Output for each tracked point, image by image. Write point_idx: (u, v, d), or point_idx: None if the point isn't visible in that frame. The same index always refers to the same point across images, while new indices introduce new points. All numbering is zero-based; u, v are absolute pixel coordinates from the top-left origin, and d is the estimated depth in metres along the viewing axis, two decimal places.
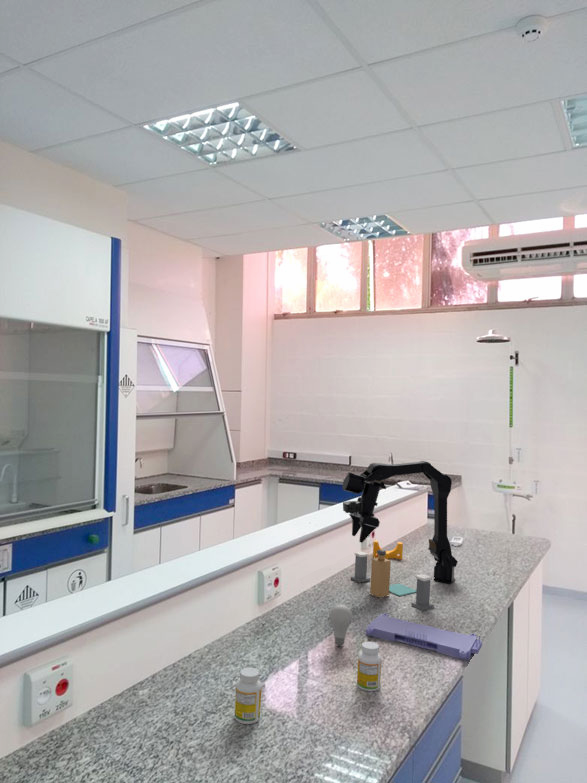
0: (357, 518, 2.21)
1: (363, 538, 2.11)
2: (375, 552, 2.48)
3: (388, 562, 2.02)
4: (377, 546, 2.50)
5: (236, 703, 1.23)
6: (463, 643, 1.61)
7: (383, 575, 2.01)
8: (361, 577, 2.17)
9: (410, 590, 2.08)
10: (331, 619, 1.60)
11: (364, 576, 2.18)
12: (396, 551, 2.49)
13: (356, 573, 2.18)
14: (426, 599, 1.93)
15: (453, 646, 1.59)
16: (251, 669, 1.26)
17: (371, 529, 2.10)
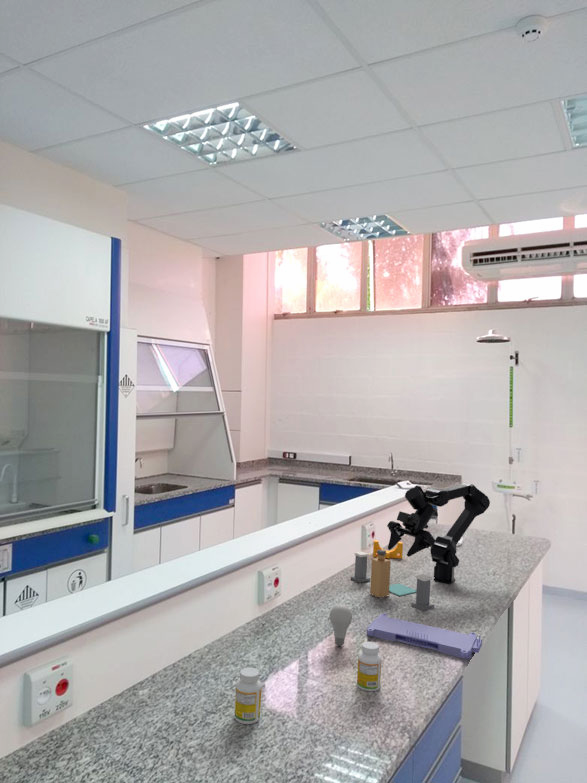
0: (397, 534, 2.15)
1: (412, 553, 2.05)
2: (375, 552, 2.49)
3: (388, 562, 2.02)
4: (377, 546, 2.50)
5: (236, 703, 1.23)
6: (464, 642, 1.62)
7: (383, 575, 2.01)
8: (361, 577, 2.17)
9: (410, 590, 2.08)
10: (331, 619, 1.60)
11: (364, 576, 2.18)
12: (396, 551, 2.50)
13: (356, 573, 2.18)
14: (426, 599, 1.93)
15: (454, 645, 1.59)
16: (251, 669, 1.26)
17: (422, 547, 2.06)
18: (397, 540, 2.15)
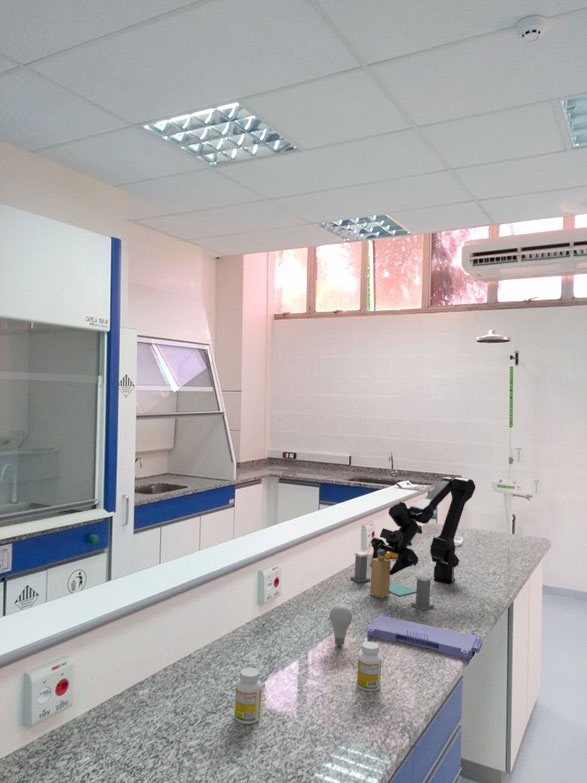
0: None
1: (394, 571, 2.00)
2: None
3: (388, 562, 2.02)
4: None
5: (236, 703, 1.23)
6: (464, 642, 1.62)
7: (383, 575, 2.01)
8: (361, 577, 2.17)
9: (410, 590, 2.08)
10: (331, 619, 1.60)
11: (364, 576, 2.18)
12: None
13: (356, 573, 2.18)
14: (426, 599, 1.93)
15: (455, 645, 1.60)
16: (251, 669, 1.26)
17: (405, 565, 2.01)
18: None
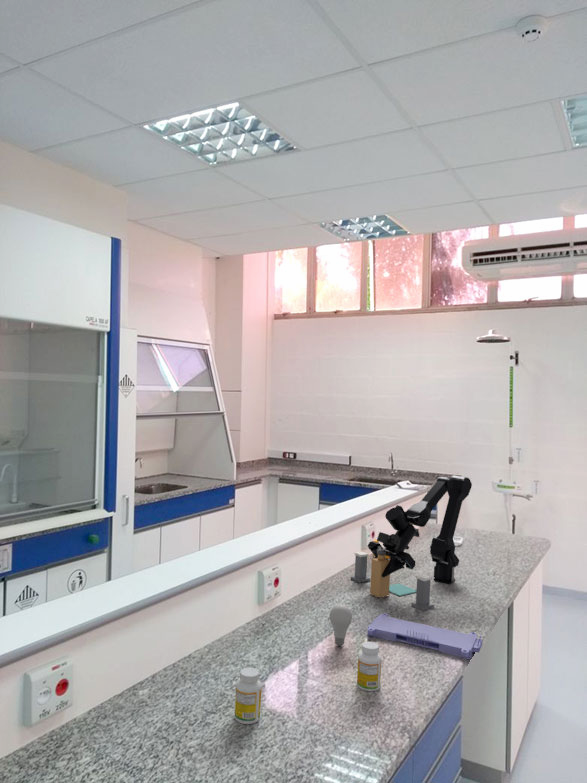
0: None
1: (387, 573, 2.01)
2: None
3: (388, 562, 2.02)
4: None
5: (236, 703, 1.23)
6: (465, 642, 1.62)
7: None
8: (361, 577, 2.17)
9: (410, 590, 2.08)
10: (331, 619, 1.60)
11: (364, 576, 2.18)
12: None
13: (356, 573, 2.18)
14: (426, 599, 1.93)
15: (455, 645, 1.60)
16: (251, 669, 1.26)
17: (398, 567, 2.02)
18: None
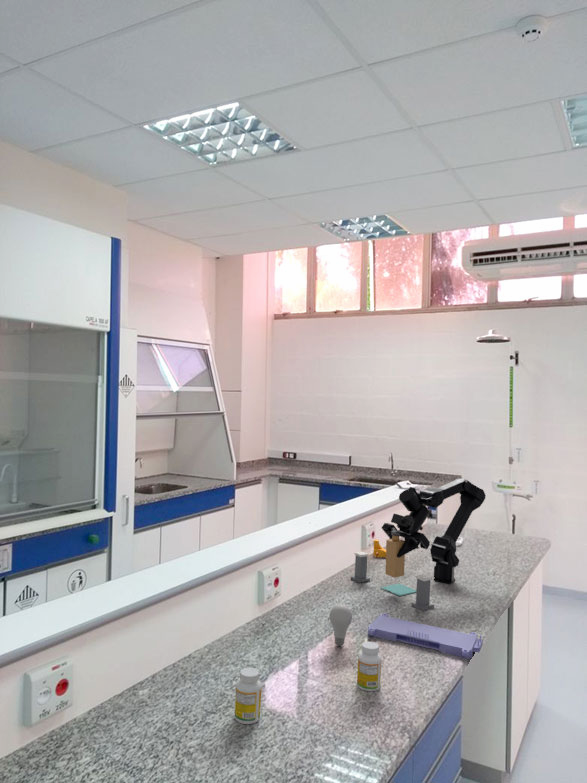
0: None
1: (402, 554, 2.05)
2: (375, 551, 2.50)
3: (403, 542, 2.06)
4: (377, 545, 2.52)
5: (236, 703, 1.23)
6: (465, 642, 1.62)
7: None
8: (361, 577, 2.17)
9: (410, 590, 2.08)
10: (331, 619, 1.60)
11: (364, 576, 2.18)
12: None
13: (356, 573, 2.18)
14: (426, 599, 1.93)
15: (455, 645, 1.60)
16: (251, 669, 1.26)
17: (412, 548, 2.06)
18: None
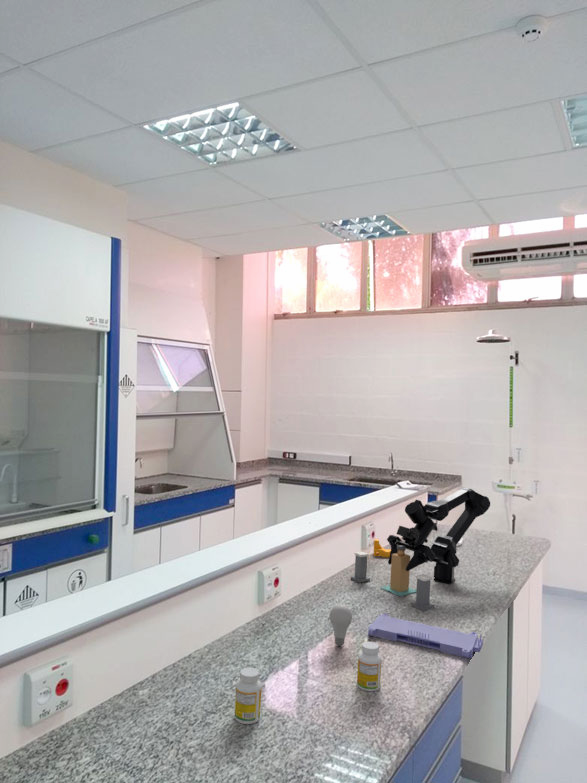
0: None
1: (410, 567, 2.05)
2: (376, 550, 2.51)
3: (408, 557, 2.08)
4: (378, 544, 2.52)
5: (236, 703, 1.23)
6: (465, 641, 1.62)
7: (403, 569, 2.07)
8: (361, 577, 2.17)
9: (410, 590, 2.08)
10: (331, 619, 1.60)
11: (364, 576, 2.18)
12: None
13: (356, 573, 2.18)
14: (426, 599, 1.93)
15: (456, 645, 1.60)
16: (251, 669, 1.26)
17: (421, 561, 2.06)
18: None
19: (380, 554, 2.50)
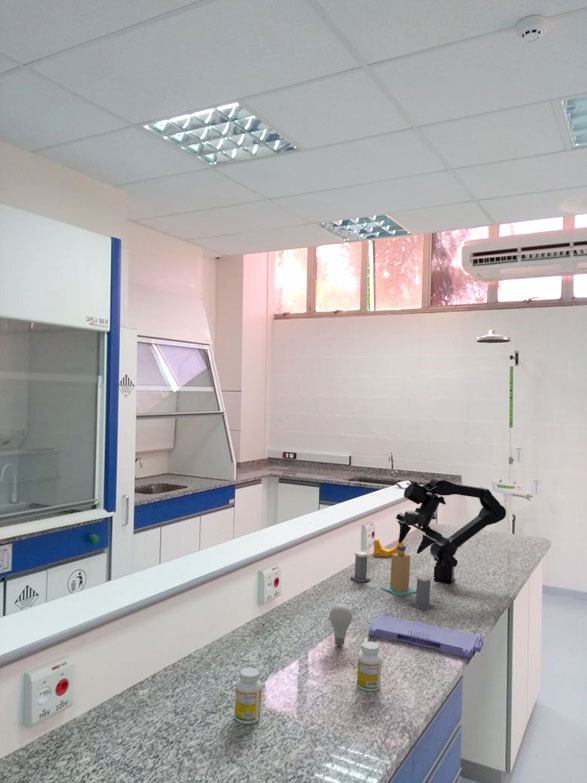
0: (406, 526, 2.24)
1: (421, 550, 2.15)
2: (376, 550, 2.51)
3: (408, 557, 2.08)
4: (378, 544, 2.53)
5: (236, 703, 1.23)
6: (466, 641, 1.62)
7: (403, 569, 2.07)
8: (361, 577, 2.17)
9: (410, 590, 2.08)
10: (331, 619, 1.60)
11: (364, 576, 2.18)
12: (397, 549, 2.52)
13: (356, 573, 2.18)
14: (426, 599, 1.93)
15: (456, 645, 1.60)
16: (251, 669, 1.26)
17: (431, 542, 2.16)
18: (407, 531, 2.25)
19: (380, 554, 2.51)
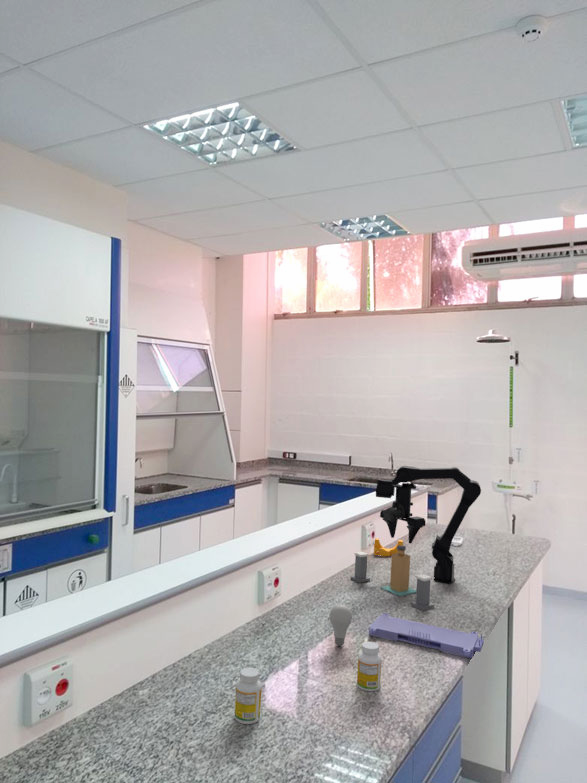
0: (392, 520, 2.31)
1: (412, 539, 2.23)
2: (376, 550, 2.52)
3: (408, 557, 2.08)
4: (378, 544, 2.53)
5: (236, 703, 1.23)
6: (466, 641, 1.63)
7: (403, 569, 2.07)
8: (361, 577, 2.17)
9: (410, 590, 2.08)
10: (331, 619, 1.60)
11: (364, 576, 2.18)
12: (397, 549, 2.53)
13: (356, 573, 2.18)
14: (426, 599, 1.93)
15: (456, 645, 1.60)
16: (251, 669, 1.25)
17: (417, 528, 2.23)
18: (395, 524, 2.32)
19: (380, 553, 2.52)
